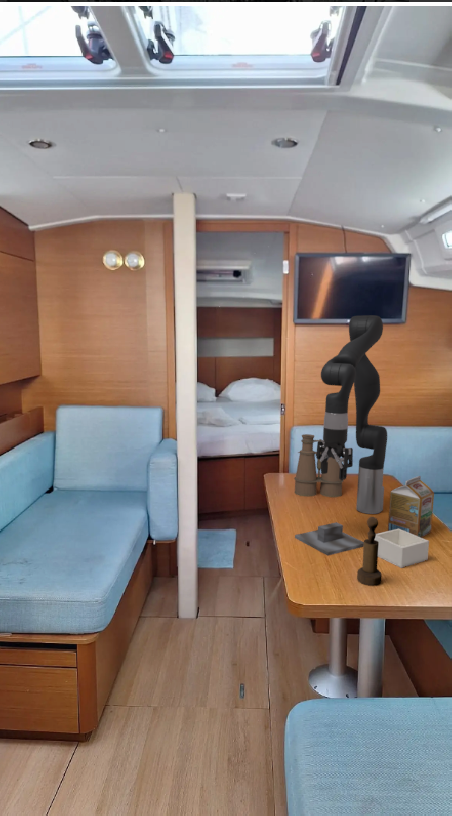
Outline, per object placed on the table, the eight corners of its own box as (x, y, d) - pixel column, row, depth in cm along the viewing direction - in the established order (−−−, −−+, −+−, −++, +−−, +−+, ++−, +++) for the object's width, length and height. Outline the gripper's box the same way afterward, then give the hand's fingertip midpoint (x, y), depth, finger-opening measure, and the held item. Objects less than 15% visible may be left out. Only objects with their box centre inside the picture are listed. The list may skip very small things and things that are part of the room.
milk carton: (402, 524, 191) (406, 472, 188) (431, 532, 183) (435, 478, 181) (387, 531, 184) (391, 477, 181) (416, 540, 176) (421, 484, 174)
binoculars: (340, 490, 230) (343, 434, 227) (344, 497, 220) (347, 438, 217) (292, 489, 231) (294, 432, 227) (294, 496, 221) (297, 437, 218)
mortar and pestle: (353, 575, 149) (357, 513, 147) (376, 574, 150) (380, 513, 147) (361, 586, 143) (365, 521, 140) (385, 585, 143) (389, 521, 141)
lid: (331, 531, 184) (332, 514, 183) (365, 547, 170) (366, 529, 169) (294, 539, 176) (295, 521, 175) (327, 557, 162) (328, 538, 161)
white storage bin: (397, 546, 170) (398, 528, 169) (427, 559, 160) (429, 540, 159) (371, 553, 164) (372, 534, 163) (401, 567, 154) (402, 548, 154)
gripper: (360, 429, 163) (357, 480, 166) (329, 422, 175) (326, 470, 178) (342, 431, 160) (339, 483, 162) (311, 423, 172) (309, 472, 174)
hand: (333, 476), depth 170 cm, fingers open, 8 cm apart
